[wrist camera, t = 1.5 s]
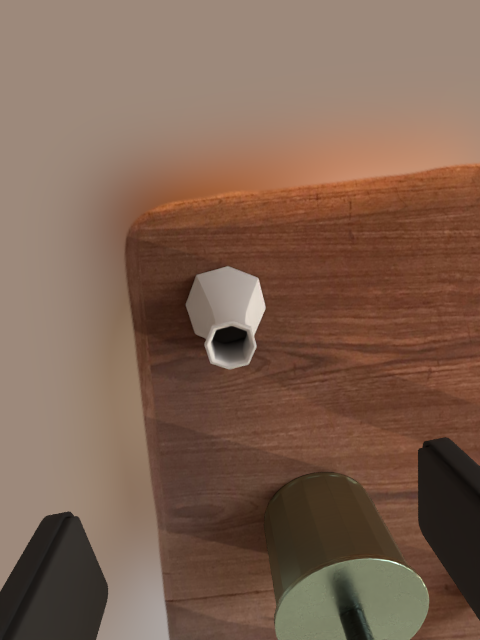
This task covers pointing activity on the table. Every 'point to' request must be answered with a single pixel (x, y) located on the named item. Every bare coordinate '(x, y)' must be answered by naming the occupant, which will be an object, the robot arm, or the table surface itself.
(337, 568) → the pot lid
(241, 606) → the table surface
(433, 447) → the robot arm
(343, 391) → the table surface
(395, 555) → the pot
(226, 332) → the flask
